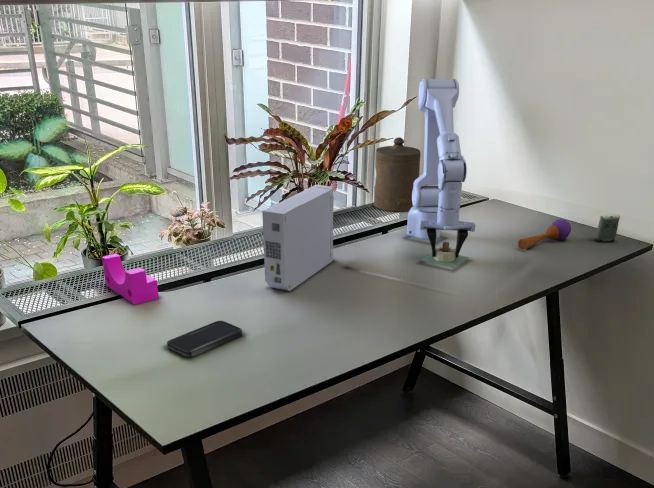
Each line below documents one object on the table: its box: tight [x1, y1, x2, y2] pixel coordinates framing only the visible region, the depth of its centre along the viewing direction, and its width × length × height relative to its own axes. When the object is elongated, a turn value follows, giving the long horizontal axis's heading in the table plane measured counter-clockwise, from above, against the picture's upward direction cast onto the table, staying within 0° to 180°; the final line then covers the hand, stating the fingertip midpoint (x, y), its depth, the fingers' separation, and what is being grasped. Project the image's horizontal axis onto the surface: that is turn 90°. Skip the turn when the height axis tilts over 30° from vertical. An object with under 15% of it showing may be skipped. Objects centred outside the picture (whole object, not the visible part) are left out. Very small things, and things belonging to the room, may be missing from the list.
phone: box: [166, 320, 243, 358], centre depth 154 cm, size 8×1×15 cm
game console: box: [261, 184, 334, 292], centre depth 184 cm, size 6×27×20 cm, turn 155°
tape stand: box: [420, 241, 470, 269], centre depth 198 cm, size 10×10×6 cm
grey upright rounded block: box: [596, 213, 621, 243], centre depth 215 cm, size 6×5×8 cm
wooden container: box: [373, 136, 421, 212], centre depth 241 cm, size 15×15×22 cm
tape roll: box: [434, 245, 456, 262], centre depth 198 cm, size 6×6×2 cm
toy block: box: [101, 253, 160, 305], centre depth 175 cm, size 15×6×8 cm, turn 41°
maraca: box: [517, 218, 572, 251], centre depth 213 cm, size 6×6×20 cm
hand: (444, 256), depth 198 cm, fingers closed on tape roll, 5 cm apart
